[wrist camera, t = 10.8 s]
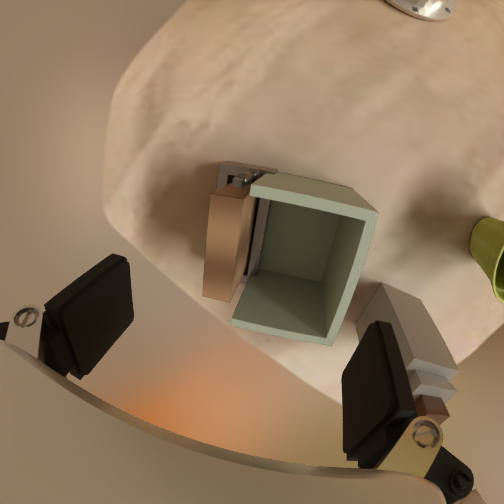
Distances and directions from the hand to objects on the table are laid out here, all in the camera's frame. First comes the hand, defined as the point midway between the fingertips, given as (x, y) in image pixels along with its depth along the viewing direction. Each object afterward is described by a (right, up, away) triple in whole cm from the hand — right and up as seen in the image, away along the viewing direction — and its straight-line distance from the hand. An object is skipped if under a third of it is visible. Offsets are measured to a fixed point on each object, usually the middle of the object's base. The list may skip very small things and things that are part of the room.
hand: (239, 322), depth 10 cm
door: (0, +6, +21) cm, 22 cm away
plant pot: (+31, +4, +16) cm, 35 cm away
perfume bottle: (+18, -5, +22) cm, 29 cm away
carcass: (+6, +5, +20) cm, 22 cm away
